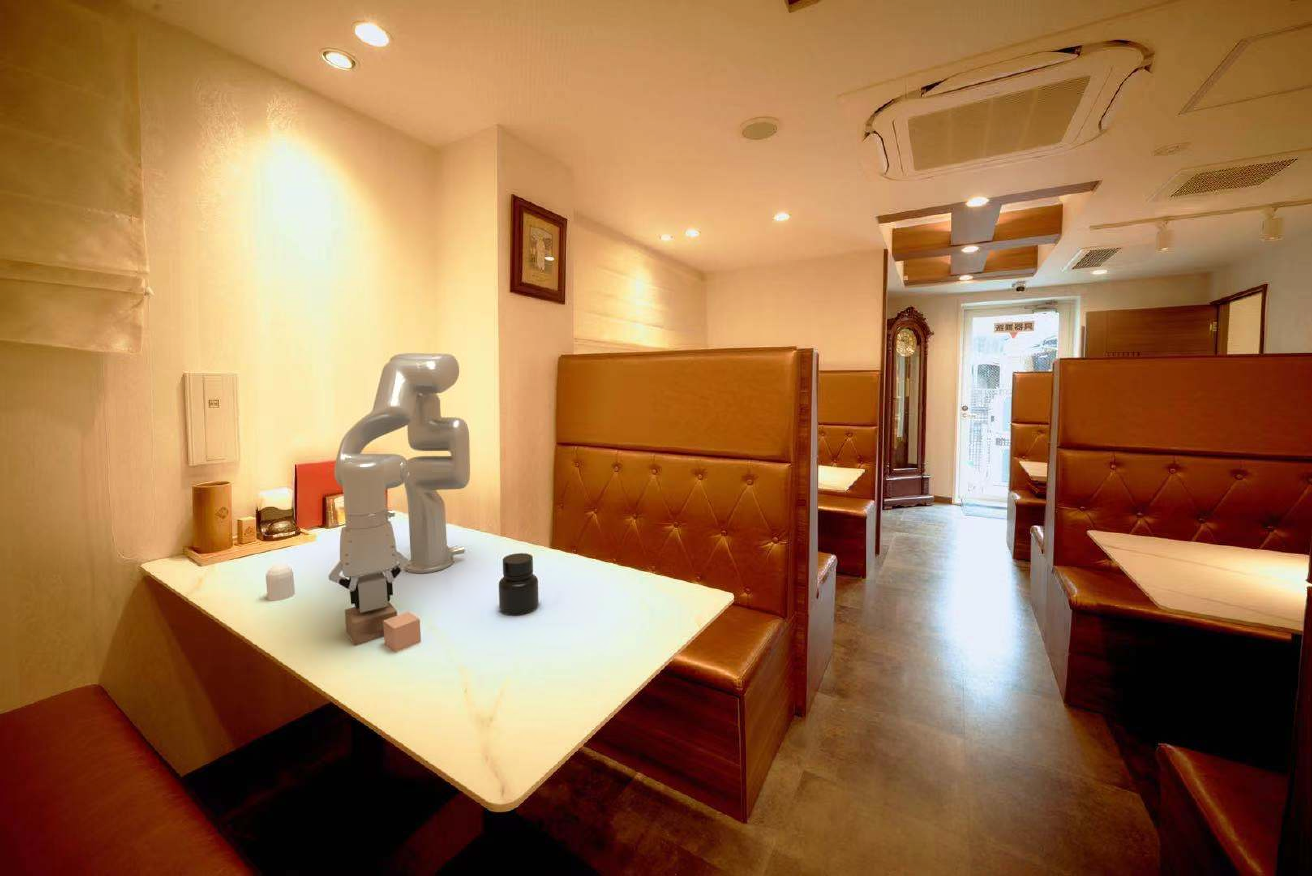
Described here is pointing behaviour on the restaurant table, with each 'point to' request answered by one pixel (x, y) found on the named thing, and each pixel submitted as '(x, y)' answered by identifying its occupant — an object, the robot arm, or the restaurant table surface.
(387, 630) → the terracotta cube
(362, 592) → the grey block
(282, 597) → the capsule
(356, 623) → the walnut block
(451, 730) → the restaurant table surface
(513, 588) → the ink bottle
